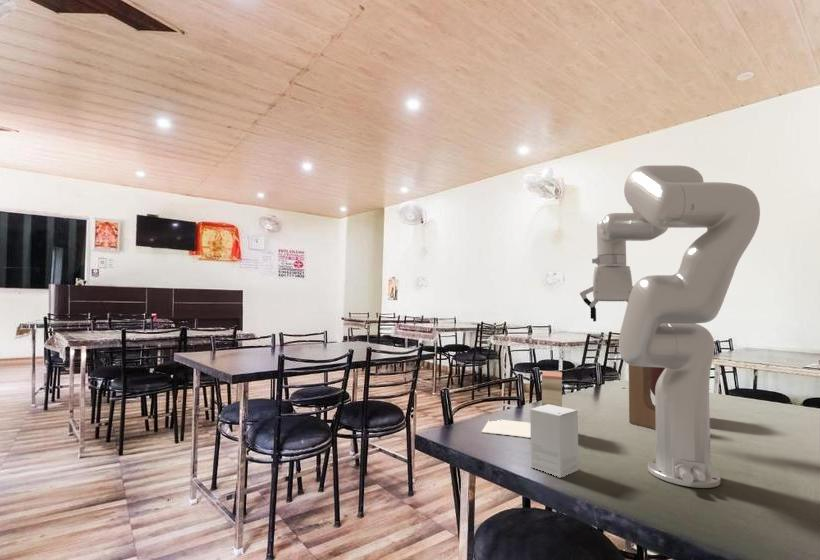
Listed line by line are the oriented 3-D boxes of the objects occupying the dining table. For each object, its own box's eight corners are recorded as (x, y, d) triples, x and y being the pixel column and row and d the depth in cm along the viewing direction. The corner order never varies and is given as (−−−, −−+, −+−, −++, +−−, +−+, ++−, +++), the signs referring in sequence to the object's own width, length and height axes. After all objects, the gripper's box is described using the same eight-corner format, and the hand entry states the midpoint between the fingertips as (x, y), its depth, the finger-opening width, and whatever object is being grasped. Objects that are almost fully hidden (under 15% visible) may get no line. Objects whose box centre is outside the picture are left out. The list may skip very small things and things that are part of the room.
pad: (535, 439, 110) (535, 437, 110) (481, 432, 115) (481, 431, 115) (538, 424, 123) (538, 423, 123) (489, 419, 128) (489, 418, 128)
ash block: (562, 438, 111) (561, 376, 112) (542, 436, 113) (541, 375, 113) (562, 430, 118) (561, 372, 119) (543, 428, 120) (543, 370, 121)
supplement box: (579, 470, 90) (579, 409, 91) (560, 479, 85) (560, 415, 86) (549, 459, 96) (548, 403, 96) (529, 467, 91) (529, 408, 92)
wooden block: (668, 428, 121) (667, 364, 122) (661, 431, 119) (660, 366, 120) (635, 421, 128) (635, 360, 129) (628, 423, 126) (628, 362, 127)
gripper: (579, 261, 123) (580, 321, 121) (647, 259, 116) (649, 322, 115) (579, 264, 130) (580, 320, 128) (643, 262, 123) (645, 322, 122)
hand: (612, 321), depth 122 cm, fingers open, 9 cm apart
